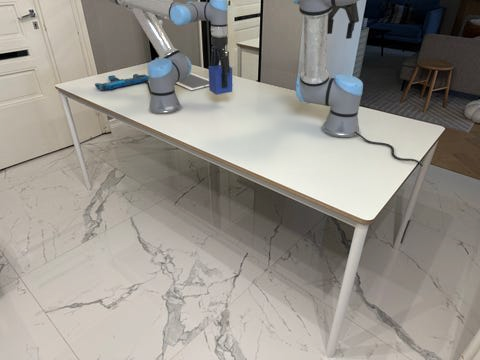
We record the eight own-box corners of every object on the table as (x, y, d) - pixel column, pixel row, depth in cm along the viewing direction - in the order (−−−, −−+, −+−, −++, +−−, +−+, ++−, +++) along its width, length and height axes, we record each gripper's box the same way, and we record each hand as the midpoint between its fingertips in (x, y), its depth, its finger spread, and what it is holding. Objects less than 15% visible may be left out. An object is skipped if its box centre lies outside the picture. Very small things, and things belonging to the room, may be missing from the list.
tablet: (163, 78, 216) (163, 77, 215) (189, 72, 227) (189, 71, 226) (191, 90, 195) (191, 90, 195) (219, 83, 206) (219, 83, 206)
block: (225, 87, 174) (224, 64, 167) (232, 91, 168) (232, 67, 162) (209, 90, 170) (208, 66, 164) (216, 94, 165) (215, 70, 158)
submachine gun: (139, 68, 225) (158, 74, 208) (140, 74, 226) (158, 80, 210) (87, 78, 206) (103, 86, 189) (89, 84, 208) (104, 92, 191)
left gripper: (202, 32, 161) (204, 80, 173) (222, 40, 146) (223, 92, 159) (216, 31, 164) (217, 78, 177) (237, 39, 149) (237, 89, 162)
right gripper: (321, -17, 159) (315, 32, 170) (360, -13, 140) (351, 41, 152) (333, -17, 162) (327, 31, 173) (373, -14, 143) (363, 39, 155)
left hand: (220, 85), depth 168 cm, fingers closed on block, 8 cm apart
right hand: (338, 36), depth 162 cm, fingers open, 13 cm apart
